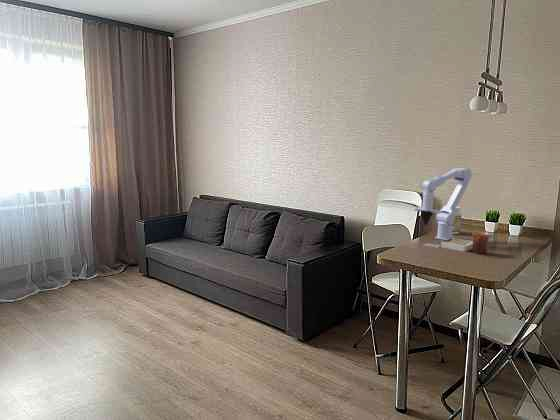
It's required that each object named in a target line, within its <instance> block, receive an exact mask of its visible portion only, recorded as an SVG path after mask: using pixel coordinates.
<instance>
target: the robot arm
mask: <svg viewBox="0 0 560 420" xmlns="http://www.w3.org/2000/svg"><path fill="white" fill-rule="evenodd" d="M472 177H473V172H472V169H470V168H469V167H468V168H466V167H465V168H463V167H458V166H457V167H454V168H451V170H450V171H448V172H446V173H445V174H443V175H439V174H437V175H435V176H434V177H433V178H432V177H431V178H430V179H429V180H427V179H426V180H424V181H423V182H422V184H421V189H422V193H423V195H422V203H421V205H422V206H421V207H417V206H416V207H414V211H415V212H421V213H420V214H421V216H422V219H423V224H424V225H426V226H427V225H429V222H430V219H431V217H432V216H433V214H436V215H435V220H436V222H437V224H438V225H437V235H436V236H435V237H434V239H439V240H442V241H443V240H444V241H451V240H452V238H454V237H453V234H452V230H453V227H452V224H453V223H454V221H455V216H456V213H455V211H454V210H455V209H456V207H458V204H459V203H460V201H461V200H462V197H463V196H464V193H465V191H466V190H467V188H468V186H469V183H470V180H471V179H472ZM450 179H451V180H452V179H453V180H454V181H455V183H456V184H457V185H456V186H455V188H454V190H453V192H452V194H451V195H450V198H449V200H448V202H447V203H446V205H445V206H446V207H444V208H443V207H442V208H441V209H436V208H435V209H434V208H433V207H434V194H435V191H436V190H437V188H438V187H441V186H442V185H445V182H446V181H448V180H450Z"/></svg>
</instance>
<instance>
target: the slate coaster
mask: <svg viewBox="0 0 560 420" xmlns="http://www.w3.org/2000/svg"><path fill="white" fill-rule="evenodd" d="M422 246H423V247H428V248H433V249H438V248H441V244H437V243H428V242H426V243H425V244H423V245H422Z"/></svg>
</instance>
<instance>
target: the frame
mask: <svg viewBox="0 0 560 420" xmlns="http://www.w3.org/2000/svg"><path fill="white" fill-rule="evenodd" d="M451 241H454V242H459V243H465V244H467V245H465V246H464V245H458V244H452V243H447V242H448V241H447V242H445V241H441V242H440V243H441V244H440V245H441V246H440V248H441V249H442V248H443V249H448V250H449V249H450V250H453V251H459V252H465V253H467V252H468V251H470V250H472V243H473V240H469V239H462V238H455V237H453V238H452V239H451Z"/></svg>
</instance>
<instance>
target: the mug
mask: <svg viewBox="0 0 560 420" xmlns="http://www.w3.org/2000/svg"><path fill="white" fill-rule="evenodd" d="M471 234H472V241H473V243H472V249H471V251H472V253H474V254H477V255H486V254H487V253H488V248H489V239H490V237H491V233H488V232H481V231H473V232H472V233H471Z"/></svg>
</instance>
